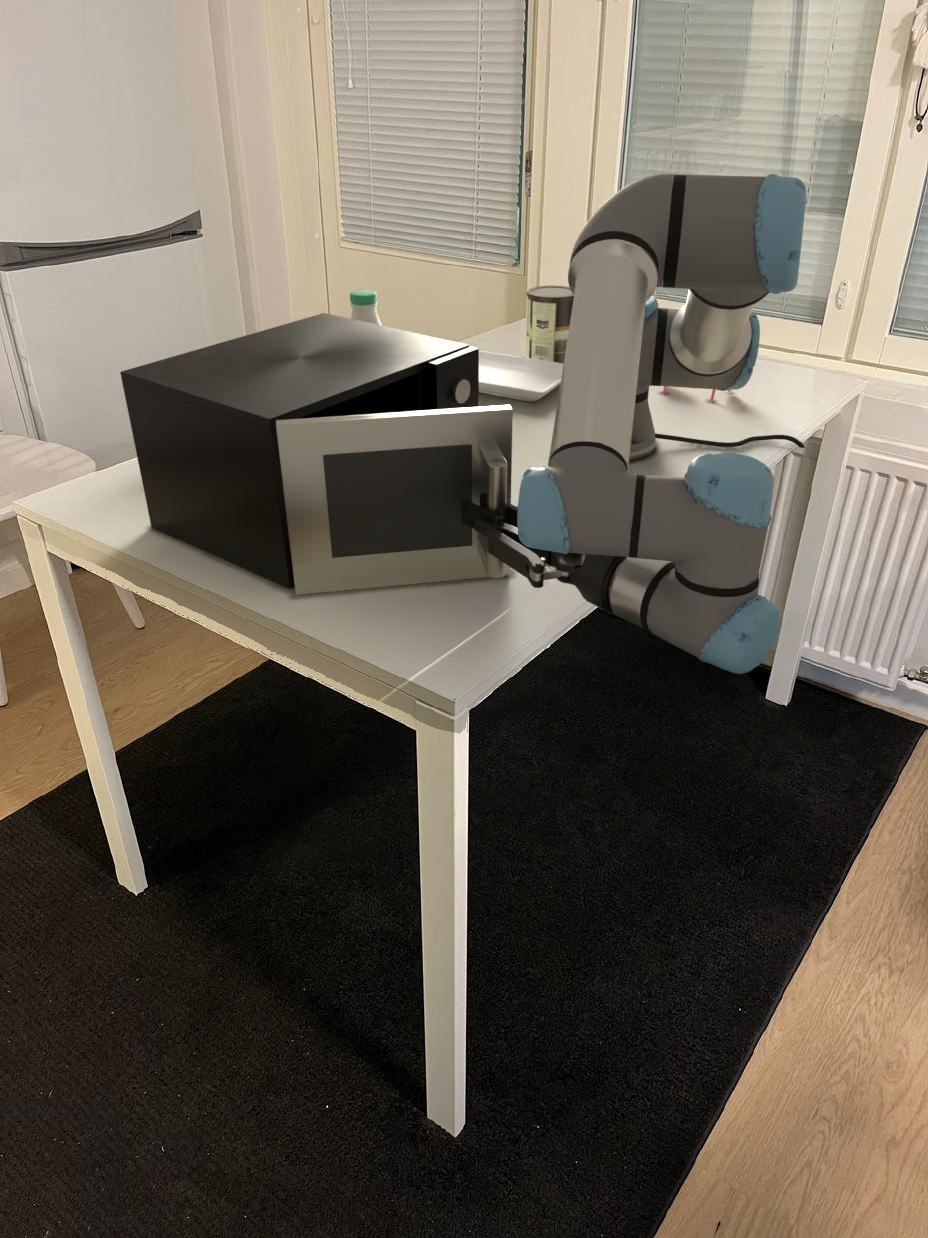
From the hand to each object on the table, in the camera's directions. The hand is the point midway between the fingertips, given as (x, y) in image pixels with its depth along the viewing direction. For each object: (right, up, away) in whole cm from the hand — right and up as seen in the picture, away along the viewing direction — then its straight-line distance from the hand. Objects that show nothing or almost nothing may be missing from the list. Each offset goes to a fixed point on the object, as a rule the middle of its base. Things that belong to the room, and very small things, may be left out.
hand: (473, 507), depth 111 cm
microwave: (-21, +2, +25) cm, 33 cm away
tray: (+4, +32, +73) cm, 80 cm away
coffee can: (+17, +40, +84) cm, 95 cm away
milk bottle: (-18, +26, +63) cm, 70 cm away
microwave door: (-8, -10, +5) cm, 14 cm away
